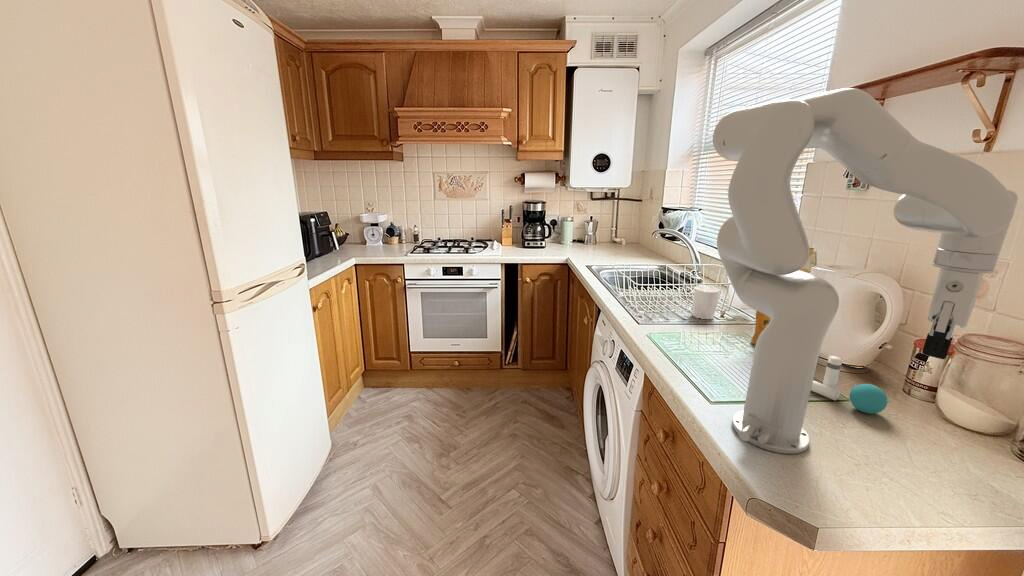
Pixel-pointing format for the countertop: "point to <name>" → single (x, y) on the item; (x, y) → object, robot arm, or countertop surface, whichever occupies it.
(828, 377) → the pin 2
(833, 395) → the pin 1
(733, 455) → the countertop surface
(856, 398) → the teal egg
